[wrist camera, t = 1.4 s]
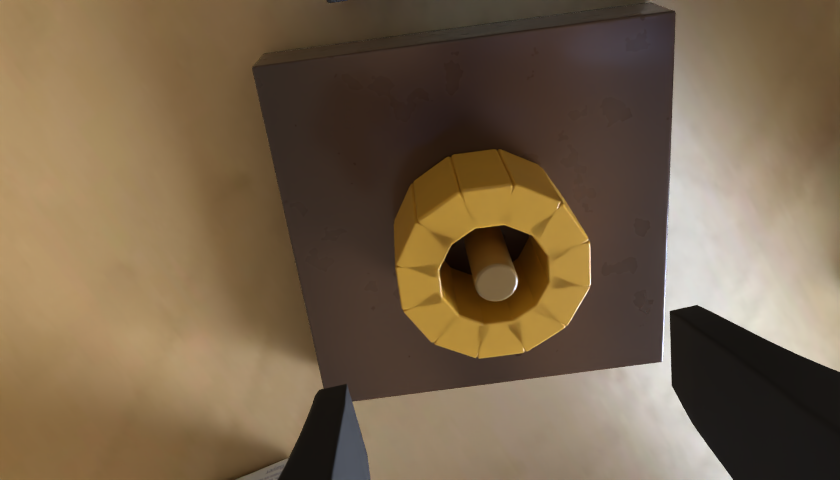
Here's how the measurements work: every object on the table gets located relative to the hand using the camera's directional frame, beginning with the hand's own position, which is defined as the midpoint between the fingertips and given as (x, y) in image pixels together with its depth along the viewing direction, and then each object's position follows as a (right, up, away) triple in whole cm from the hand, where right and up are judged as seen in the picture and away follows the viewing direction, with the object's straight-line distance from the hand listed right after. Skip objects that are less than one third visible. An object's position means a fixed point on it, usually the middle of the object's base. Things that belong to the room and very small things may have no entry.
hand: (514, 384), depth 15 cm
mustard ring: (0, +3, +7) cm, 8 cm away
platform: (0, +4, +9) cm, 10 cm away
